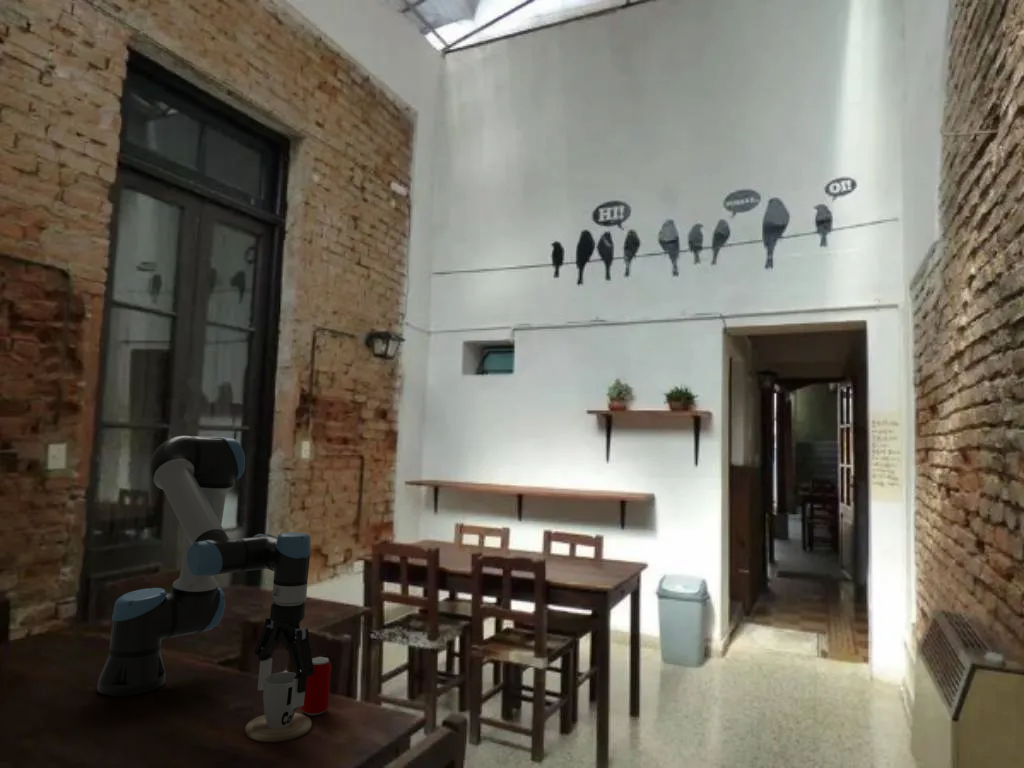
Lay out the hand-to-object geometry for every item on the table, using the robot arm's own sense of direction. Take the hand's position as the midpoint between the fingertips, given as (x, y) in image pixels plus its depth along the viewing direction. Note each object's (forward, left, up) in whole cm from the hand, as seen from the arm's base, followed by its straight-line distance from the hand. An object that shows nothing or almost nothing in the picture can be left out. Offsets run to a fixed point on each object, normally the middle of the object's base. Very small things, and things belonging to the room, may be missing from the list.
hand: (280, 697), depth 149 cm
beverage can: (-2, +11, -7) cm, 13 cm away
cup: (0, 0, -6) cm, 6 cm away
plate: (0, 0, -7) cm, 7 cm away
